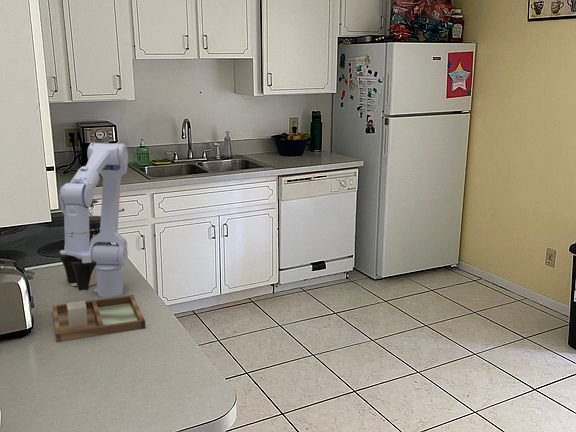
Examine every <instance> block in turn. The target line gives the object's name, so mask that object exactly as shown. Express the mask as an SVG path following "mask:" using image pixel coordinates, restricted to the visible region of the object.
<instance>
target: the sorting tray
mask: <svg viewBox="0 0 576 432" xmlns="http://www.w3.org/2000/svg"><path fill="white" fill-rule="evenodd" d="M84 301H85V300H84ZM85 304H86V309H87V323H88V325H87V326H80V327H73V328H69V324H68V315H67V303H63V304H56V305H55V304H54V305H51V307H52V315H53V323H54V331H55V338H56V340H55V341H56V343H60V342H66V341H73V340H79V339H86V338H93V337H97V336H98V337H100V336H104V335H105V336H106V335H111V334H117V333H118V334H119V333H124V332H125V333H126V332H130V331H137V330H143V329H147V327H146V320H145V318H144V316H143V313H142V311H141V309H140V307H139V305H138V302H137V300H136V298H135V297H134V294H129V295H123V296H121V295H120V296H115V297H105V298H100V299H92V300H86V301H85Z"/></svg>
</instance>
